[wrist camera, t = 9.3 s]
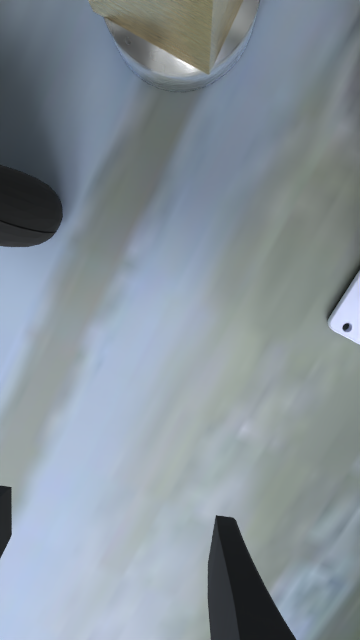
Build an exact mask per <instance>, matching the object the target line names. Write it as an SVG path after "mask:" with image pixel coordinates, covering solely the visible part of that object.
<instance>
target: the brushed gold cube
mask: <svg viewBox="0 0 360 640" xmlns="http://www.w3.org/2000/svg"><path fill="white" fill-rule="evenodd" d="M88 1H89V3H90V5H91V7H92V9H93V12H95V13H97V14H99V15H101V16H102V17H104V18H106V19H108V20H110V21H112V22H113V23H115V24H117V25H119V26H121V27H122V28H124V29H126V30H128V31H130V32H131V33H133V34H135V35H137V36H139V37H140V38H142V39H144V40H146V41H148V42H150V43H151V44H153V45H155V46H157V47H159V48H160V49H162V50H164V51H166V52H168V53H169V54H171V55H173V56H175V57H177V58H179V59H180V60H182V61H184V62H186V63H188V64H189V65H191V66H193V67H195V68H197V69H198V70H200V71H202V72H204V73H206V74H208V75H210V72H211V70H212V68H213V66H214V64H215V61H216V59H217V57H218V55H219V53H220V50H221V48H222V46H223V44H224V42H225V40H226V37H227V35H228V33H229V31H230V29H231V26H232V24H233V22H234V20H235V18H236V15H237V13H238V11H239V9H240V7H241V5H242V2H243V0H88Z"/></svg>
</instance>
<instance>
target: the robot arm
mask: <svg viewBox="0 0 360 640" xmlns="http://www.w3.org/2000/svg"><path fill="white" fill-rule="evenodd" d="M345 323H349V328H348V329H347V330H343V329H342V327H343V325H344V324H345ZM328 326H329V328H331V329H332V330H333V331H335V332H337V333H339V334H341V335H342V336H344V337H346V338H348V339H350V340H352V341H354V342H356V343H358V344H360V270H359V272H358V273H357V275H356V277H355V278H354V280H353V281H352V283H351V284H350V286H349V287H348V289H347V291H346V292H345V294H344V295H343V297H342V298H341V300H340V301H339V303H338V305H337V306H336V308H335V309H334V311H333V312H332V314H331V315H330V317H329V319H328ZM11 535H12V518H11V487H6V486H0V558H1V556H2V554H3V552H4V550H5V548H6V546H7V544H8V542H9V540H10V537H11ZM208 608H209V621H210V633H211V640H296V638H295V637H294V635H293V634H292V632H291V631H290V629H289V627H288V626H287V624H286V622H285V621H284V619H283V617H282V616H281V614H280V612H279V611H278V609H277V607H276V605H275V603H274V602H273V600H272V598H271V596H270V594H269V593H268V591H267V589H266V587H265V585H264V583H263V581H262V579H261V577H260V575H259V573H258V571H257V569H256V567H255V565H254V563H253V561H252V559H251V556H250V554H249V552H248V550H247V547H246V545H245V543H244V540H243V538H242V535H241V533H240V530H239V528H238V525H237V522H236V520H235V519H234V518H231V517H224V516H217V515H216V518H215V524H214V530H213V536H212V542H211V549H210V555H209V561H208Z"/></svg>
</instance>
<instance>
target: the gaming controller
mask: <svg viewBox="0 0 360 640" xmlns="http://www.w3.org/2000/svg"><path fill="white" fill-rule="evenodd" d="M62 217H63V216H62V205H61V201H60V199H59V197H58V195H57V194H56V193H55V192H54V191H53V190H52V189H51V188H50V187H49V186H48V185H47V184H45V183H43V182H42V181H40V180H38V179H37V178H35V177H32V176H30V175H28V174H25V173H23V172H20V171H17V170H15V169H12V168H9V167H6V166H3V165H0V246H5V247H29V246H34V245H38V244H41V243H43V242H45V241H47V240H48V239H50V238H51V237H52V236H53V235H54V234H55V233H56V230H58V228H59V226H60V223H61V220H62Z"/></svg>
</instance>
